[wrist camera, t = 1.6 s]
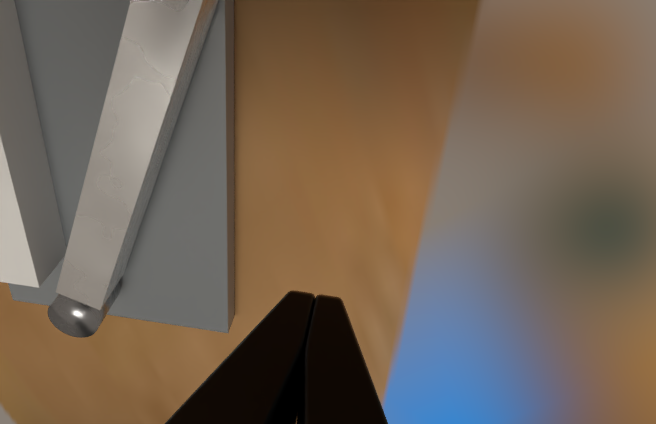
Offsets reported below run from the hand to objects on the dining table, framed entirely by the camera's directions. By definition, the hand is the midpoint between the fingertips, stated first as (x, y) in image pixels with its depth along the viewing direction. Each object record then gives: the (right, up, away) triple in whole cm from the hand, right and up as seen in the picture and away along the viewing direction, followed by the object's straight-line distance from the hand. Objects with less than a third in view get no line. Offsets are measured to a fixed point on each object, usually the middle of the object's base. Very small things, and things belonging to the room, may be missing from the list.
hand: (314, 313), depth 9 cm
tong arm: (-6, +3, +10) cm, 12 cm away
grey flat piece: (-7, +4, +11) cm, 14 cm away
